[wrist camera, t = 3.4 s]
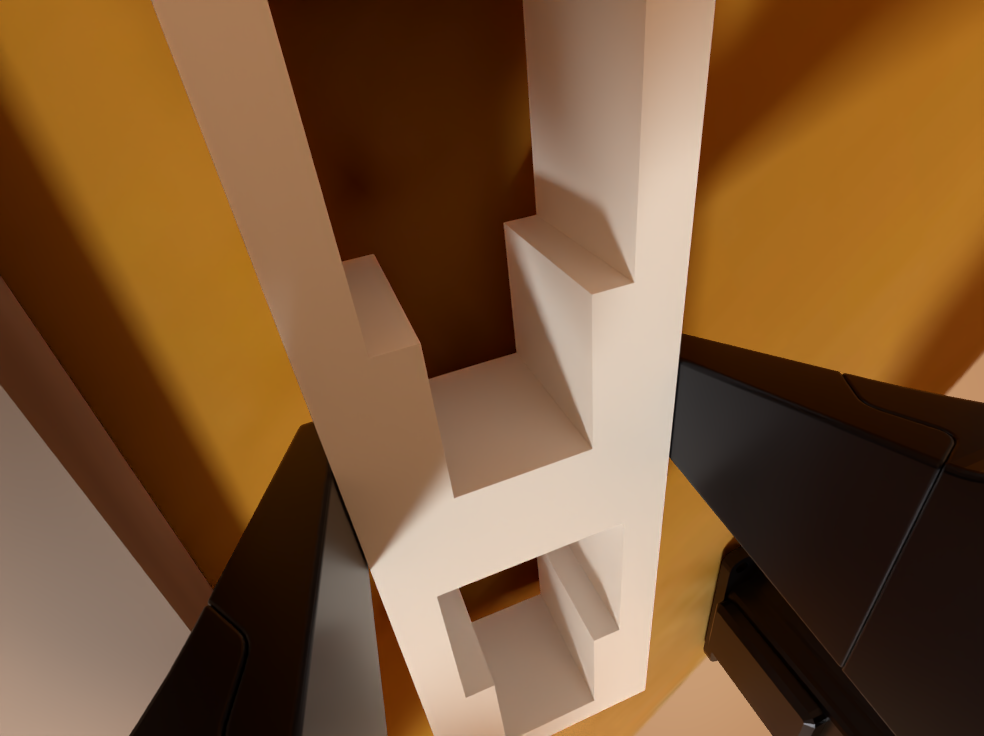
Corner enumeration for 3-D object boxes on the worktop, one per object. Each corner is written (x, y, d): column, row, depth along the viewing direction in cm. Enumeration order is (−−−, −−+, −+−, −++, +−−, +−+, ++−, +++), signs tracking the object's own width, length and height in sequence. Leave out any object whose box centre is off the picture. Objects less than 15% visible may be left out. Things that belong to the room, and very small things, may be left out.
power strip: (566, -435, 6) (850, -839, 3) (586, 589, 16) (654, 706, 13) (20, -465, 5) (-312, -1160, 2) (419, 659, 15) (457, 802, 12)
